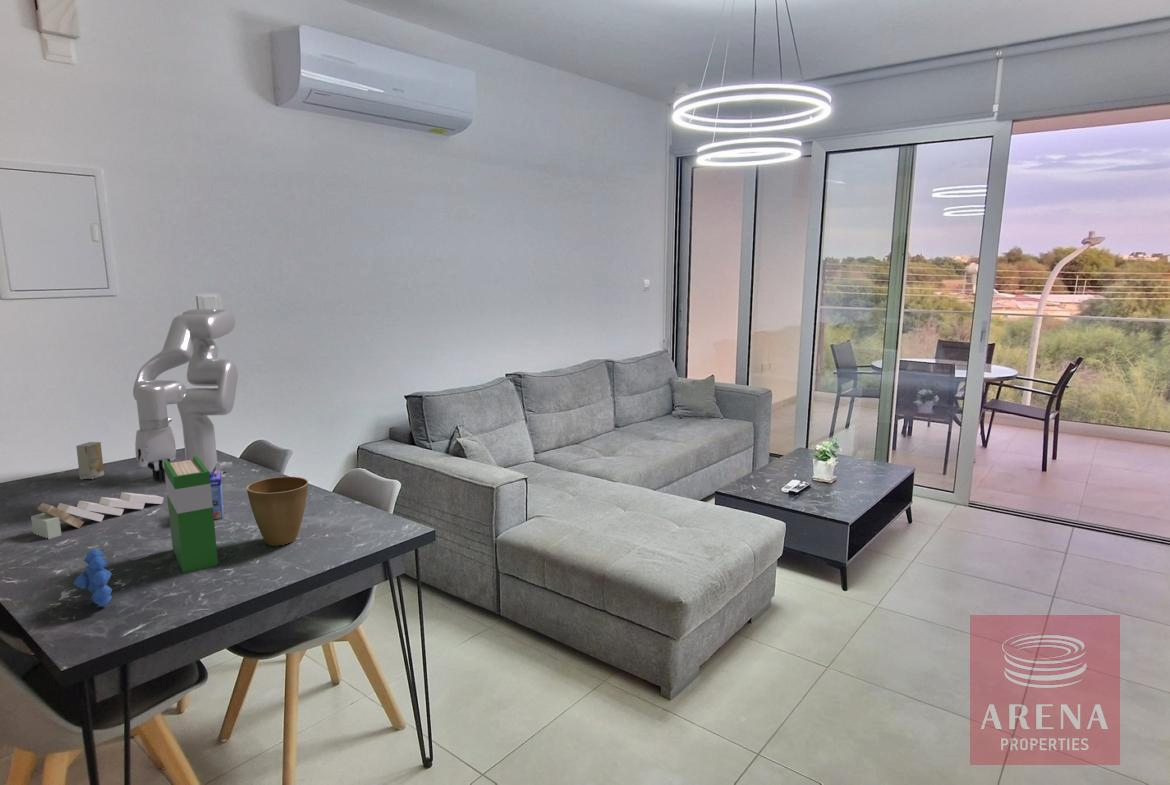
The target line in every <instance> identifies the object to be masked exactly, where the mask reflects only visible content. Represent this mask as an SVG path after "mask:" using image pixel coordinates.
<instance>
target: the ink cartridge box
mask: <svg viewBox="0 0 1170 785" xmlns="http://www.w3.org/2000/svg"><path fill="white" fill-rule="evenodd" d="M215 470H216V466H215V468H214V469H213V471H212V472H210V482H211V493H212V504H213V515H214V520H221V519H222V520H223V518H224V517H223V516H224V498H223V479H222V475H221V471H216V472H215Z"/></svg>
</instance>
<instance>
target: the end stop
mask: <svg viewBox="0 0 1170 785" xmlns="http://www.w3.org/2000/svg"><path fill="white" fill-rule="evenodd" d="M30 521H31V526H32V534H33V533H34V534H33V535H35V534H36V535H35V536H38V535H39V536H38V537H41V536H42V538H44V537H45V538H44V539H47V538H48V539H47V540H51V539H54V538H57V537H61V536H62V528H61V521H60V520H59V518H58V517H54V516H51V515H48V514H45V513H43V512H42V513H39V514H36V515H32V516H30Z"/></svg>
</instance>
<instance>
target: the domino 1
mask: <svg viewBox="0 0 1170 785" xmlns="http://www.w3.org/2000/svg"><path fill="white" fill-rule="evenodd" d="M36 510H38V511H40V512H42V513H45V514H48V515H51V516H54V517H58V518H59V520H60V522H62V523H64V524H66V525H68V526H71V527H74V528H77V529H80V528H81V527H82V526H83V524H84V523H85V521H83V520H81V519H78V518H77V517H75V516H74V515H72V514H69V513H65V512H63V511H61V510H59V509H58V508H57V507H55V506H54V505H51V504H48V503H44V502H41V503H40V504H39V505H38V507H37V508H36Z"/></svg>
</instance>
